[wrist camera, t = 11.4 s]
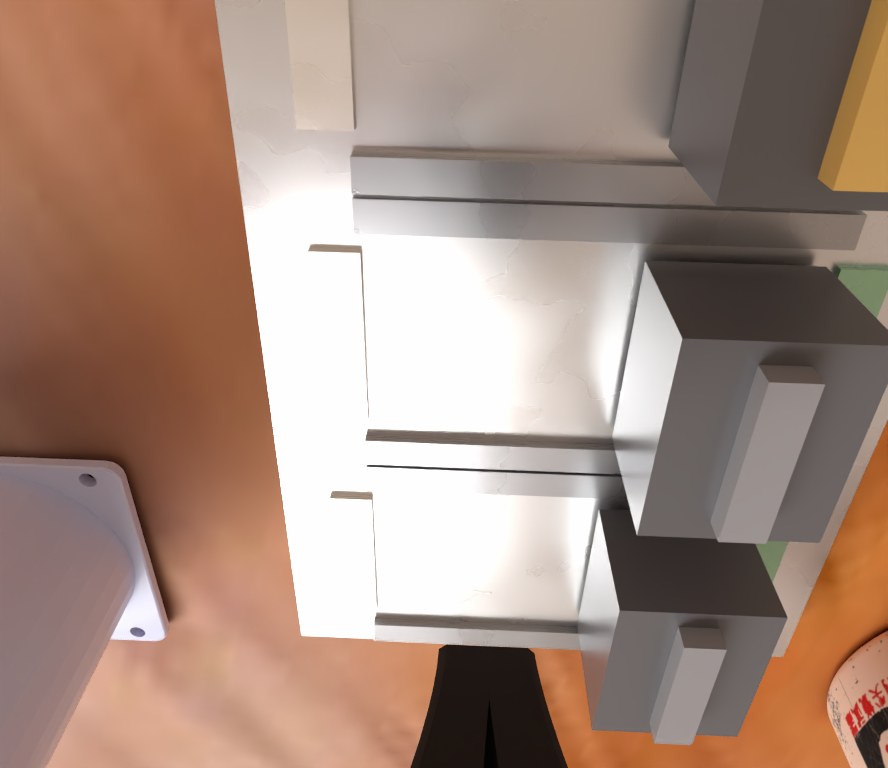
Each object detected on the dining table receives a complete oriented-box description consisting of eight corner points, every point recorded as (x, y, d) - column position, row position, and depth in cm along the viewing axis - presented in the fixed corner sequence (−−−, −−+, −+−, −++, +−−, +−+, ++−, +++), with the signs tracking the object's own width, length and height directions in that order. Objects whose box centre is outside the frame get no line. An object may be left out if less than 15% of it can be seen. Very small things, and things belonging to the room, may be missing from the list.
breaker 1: (612, 438, 19) (641, 555, 15) (645, 260, 16) (690, 355, 13) (766, 444, 19) (830, 563, 15) (826, 266, 16) (920, 363, 13)
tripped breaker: (668, 146, 15) (726, 219, 11) (725, -159, 12) (825, -186, 9) (866, 152, 15) (985, 227, 11) (969, -154, 12) (1167, -179, 9)
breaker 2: (577, 625, 23) (594, 750, 20) (598, 509, 20) (623, 631, 17) (704, 631, 23) (743, 757, 20) (742, 514, 20) (797, 638, 17)
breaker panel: (308, 606, 25) (299, 643, 24) (199, -272, 13) (168, -291, 11) (770, 626, 25) (786, 664, 24) (1132, -253, 12) (1206, -271, 11)
